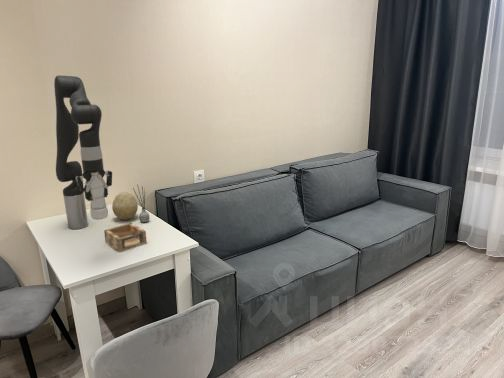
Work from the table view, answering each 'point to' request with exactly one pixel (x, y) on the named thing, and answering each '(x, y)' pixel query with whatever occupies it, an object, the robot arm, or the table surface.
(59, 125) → the robot arm
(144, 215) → the reed diffuser
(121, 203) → the fossilized egg
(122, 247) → the caddy
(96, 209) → the metal bottle
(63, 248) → the table surface
